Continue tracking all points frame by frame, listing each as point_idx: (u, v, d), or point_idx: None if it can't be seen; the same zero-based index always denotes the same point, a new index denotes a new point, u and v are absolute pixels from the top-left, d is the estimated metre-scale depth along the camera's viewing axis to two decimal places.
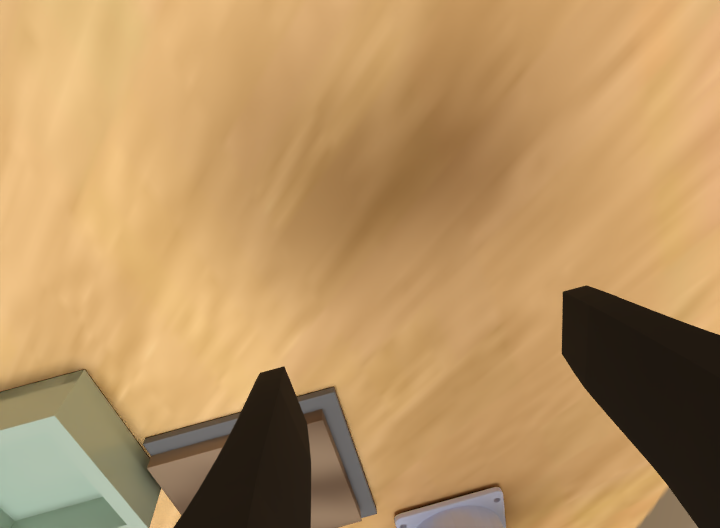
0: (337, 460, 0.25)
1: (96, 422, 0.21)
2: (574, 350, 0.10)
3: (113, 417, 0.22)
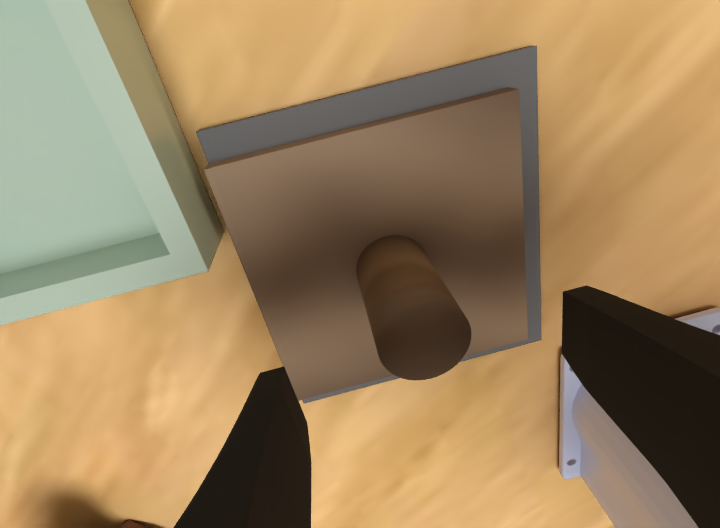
0: (521, 197, 0.15)
1: (117, 16, 0.11)
2: (574, 350, 0.10)
3: (146, 53, 0.12)
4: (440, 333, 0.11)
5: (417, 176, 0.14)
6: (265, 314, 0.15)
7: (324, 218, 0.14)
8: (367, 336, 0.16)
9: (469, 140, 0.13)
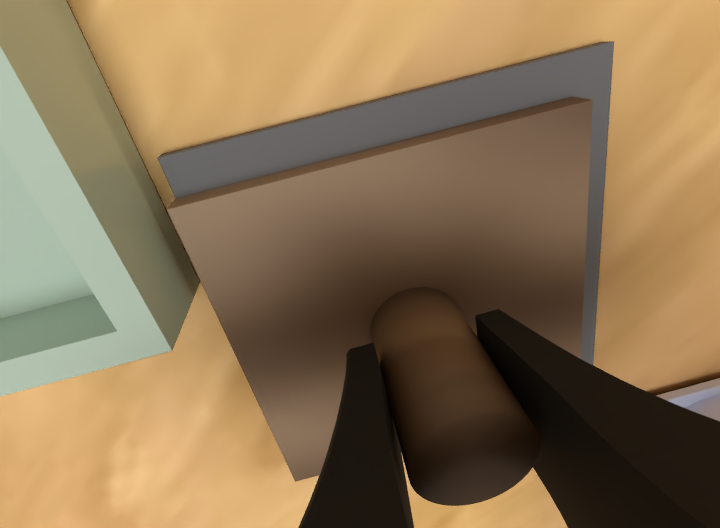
0: (584, 237, 0.11)
1: None
2: None
3: (83, 51, 0.09)
4: (497, 449, 0.08)
5: (452, 214, 0.10)
6: (254, 385, 0.12)
7: (330, 268, 0.11)
8: None
9: (522, 167, 0.10)
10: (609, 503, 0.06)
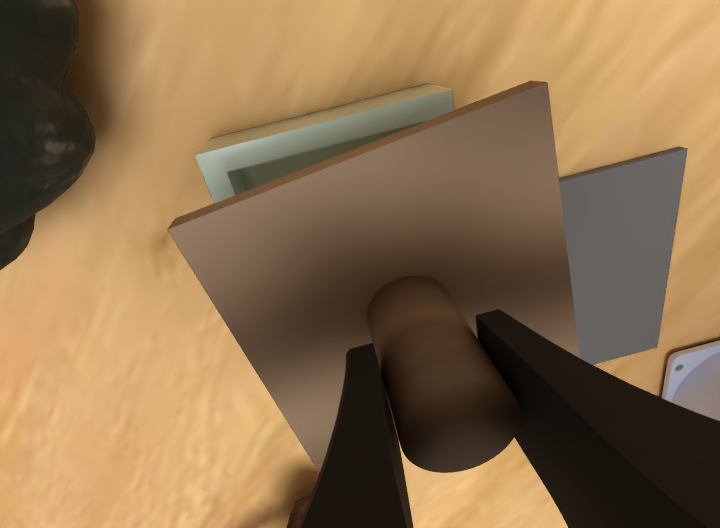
0: (560, 212, 0.12)
1: None
2: None
3: None
4: (480, 416, 0.09)
5: (429, 204, 0.11)
6: (266, 382, 0.13)
7: (321, 267, 0.11)
8: None
9: (488, 154, 0.11)
10: (609, 503, 0.06)
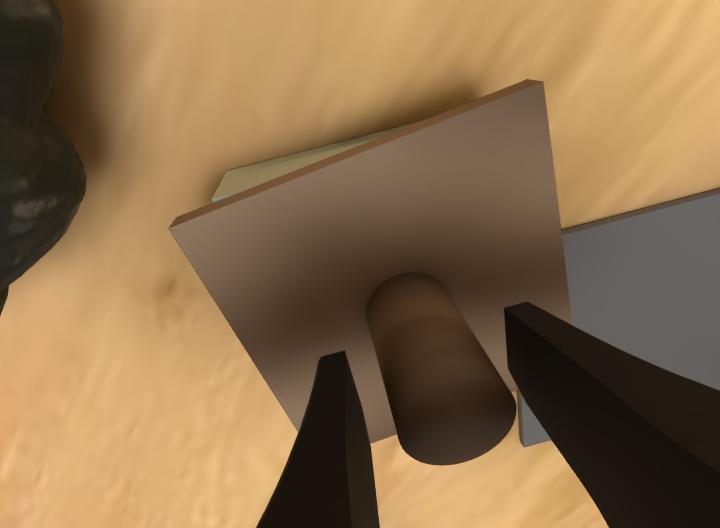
0: (556, 210, 0.12)
1: None
2: (516, 366, 0.10)
3: None
4: (476, 410, 0.09)
5: (426, 202, 0.11)
6: (267, 377, 0.13)
7: (320, 265, 0.12)
8: None
9: (485, 152, 0.11)
10: (655, 490, 0.06)
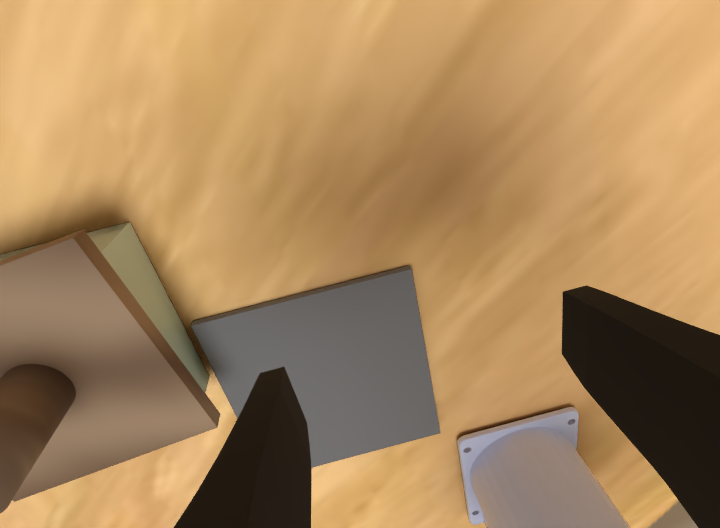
0: (133, 318, 0.16)
1: (143, 283, 0.18)
2: (574, 350, 0.10)
3: (159, 287, 0.19)
4: None
5: (16, 317, 0.15)
6: None
7: None
8: (50, 444, 0.18)
9: (49, 283, 0.15)
10: None
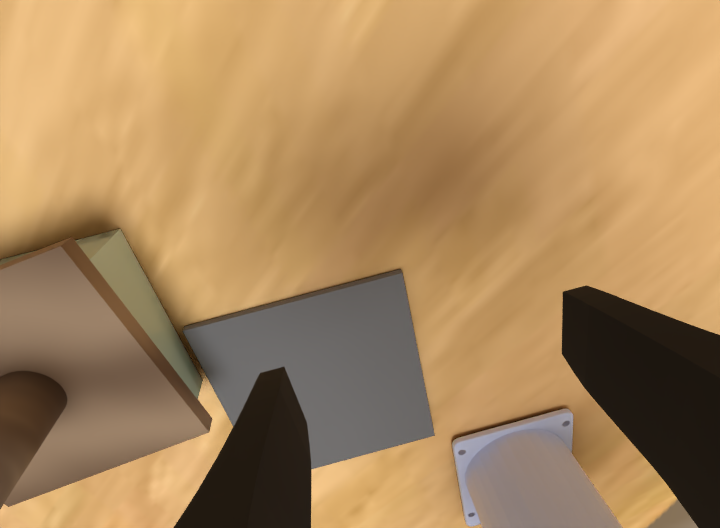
0: (122, 325, 0.16)
1: (134, 289, 0.18)
2: (574, 350, 0.10)
3: (151, 293, 0.19)
4: None
5: (6, 325, 0.15)
6: None
7: None
8: (43, 449, 0.18)
9: (38, 291, 0.15)
10: None
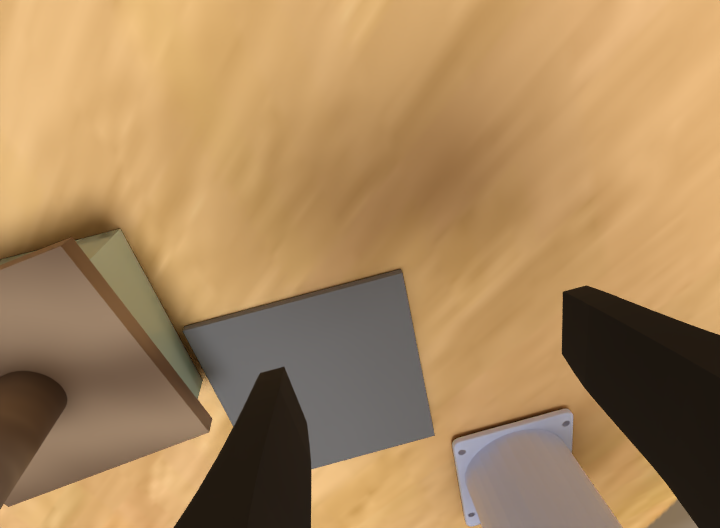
0: (122, 325, 0.16)
1: (134, 289, 0.18)
2: (574, 350, 0.10)
3: (151, 293, 0.19)
4: None
5: (6, 325, 0.15)
6: None
7: None
8: (43, 449, 0.18)
9: (38, 291, 0.15)
10: None
